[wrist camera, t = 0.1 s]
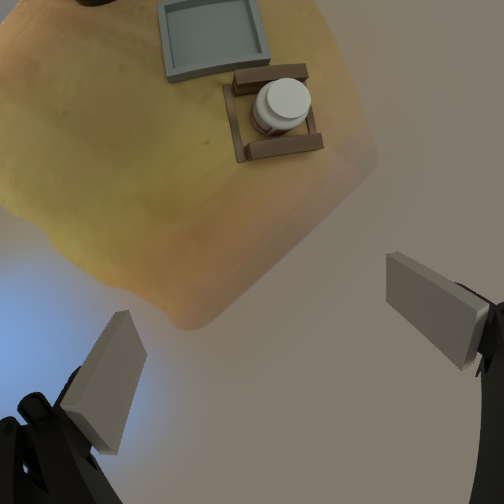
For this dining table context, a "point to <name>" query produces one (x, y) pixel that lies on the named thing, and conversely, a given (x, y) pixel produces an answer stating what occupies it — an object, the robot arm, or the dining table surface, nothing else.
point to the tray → (211, 37)
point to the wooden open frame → (253, 83)
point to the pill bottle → (280, 107)
